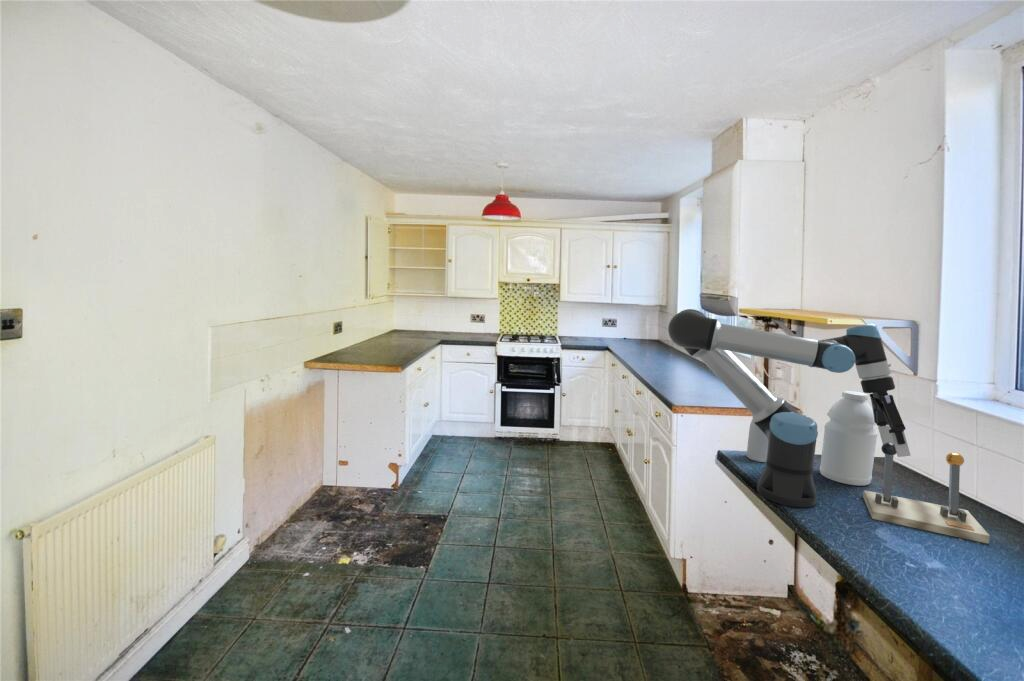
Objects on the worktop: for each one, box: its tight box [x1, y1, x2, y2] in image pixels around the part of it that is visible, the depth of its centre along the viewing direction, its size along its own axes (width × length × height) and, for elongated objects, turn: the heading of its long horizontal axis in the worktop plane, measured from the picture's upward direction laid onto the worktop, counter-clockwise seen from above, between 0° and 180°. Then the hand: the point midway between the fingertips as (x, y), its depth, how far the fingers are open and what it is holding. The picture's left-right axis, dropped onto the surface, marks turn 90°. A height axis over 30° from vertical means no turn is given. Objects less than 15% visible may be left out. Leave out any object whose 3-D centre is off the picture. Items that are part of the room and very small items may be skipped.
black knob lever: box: [880, 443, 897, 503], centre depth 135 cm, size 4×4×16 cm
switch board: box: [862, 489, 991, 544], centre depth 130 cm, size 23×16×4 cm
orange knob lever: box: [945, 452, 965, 516], centre depth 128 cm, size 4×4×16 cm
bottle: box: [819, 390, 879, 486], centre depth 156 cm, size 14×14×28 cm
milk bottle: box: [746, 420, 768, 463], centre depth 170 cm, size 8×8×20 cm
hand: (896, 452), depth 137 cm, fingers open, 13 cm apart
